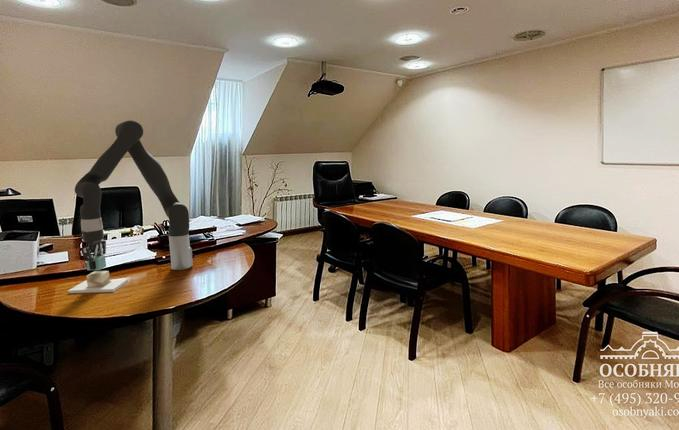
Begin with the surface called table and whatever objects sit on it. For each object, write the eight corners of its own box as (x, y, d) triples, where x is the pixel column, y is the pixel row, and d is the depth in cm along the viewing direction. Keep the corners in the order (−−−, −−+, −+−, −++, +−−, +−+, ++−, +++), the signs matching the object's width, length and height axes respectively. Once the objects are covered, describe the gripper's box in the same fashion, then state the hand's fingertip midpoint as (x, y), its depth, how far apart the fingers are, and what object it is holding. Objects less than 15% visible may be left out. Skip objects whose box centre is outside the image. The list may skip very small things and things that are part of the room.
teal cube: (106, 266, 158) (104, 255, 157) (99, 270, 153) (98, 258, 152) (94, 266, 158) (92, 255, 157) (87, 270, 153) (85, 259, 152)
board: (127, 281, 163) (127, 278, 163) (114, 291, 152) (113, 288, 151) (85, 282, 162) (85, 280, 162) (68, 293, 150) (68, 290, 150)
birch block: (110, 281, 160) (108, 270, 159) (102, 286, 154) (101, 275, 153) (95, 282, 159) (94, 271, 158) (87, 287, 153) (86, 275, 152)
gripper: (92, 225, 159) (97, 262, 162) (72, 232, 145) (77, 273, 148) (110, 225, 160) (114, 262, 163) (91, 232, 146) (96, 272, 149)
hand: (96, 267), depth 155 cm, fingers closed on teal cube, 5 cm apart
